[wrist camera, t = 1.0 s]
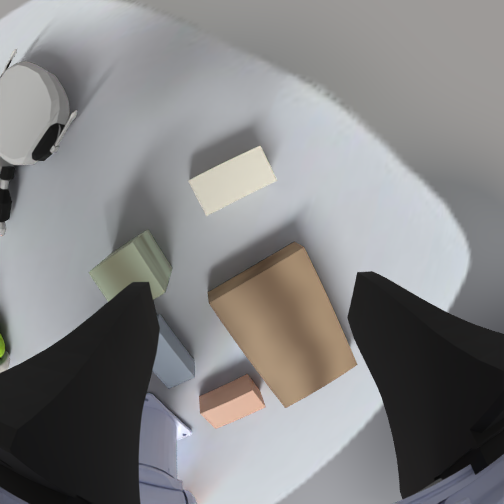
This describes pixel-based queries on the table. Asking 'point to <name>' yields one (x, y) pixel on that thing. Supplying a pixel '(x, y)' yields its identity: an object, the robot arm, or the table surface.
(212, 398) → the terracotta brick
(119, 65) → the table surface
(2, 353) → the colorful egg cluster
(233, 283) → the walnut slab
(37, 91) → the robot toy
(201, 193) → the cream brick
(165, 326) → the slate brick
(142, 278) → the sage block
